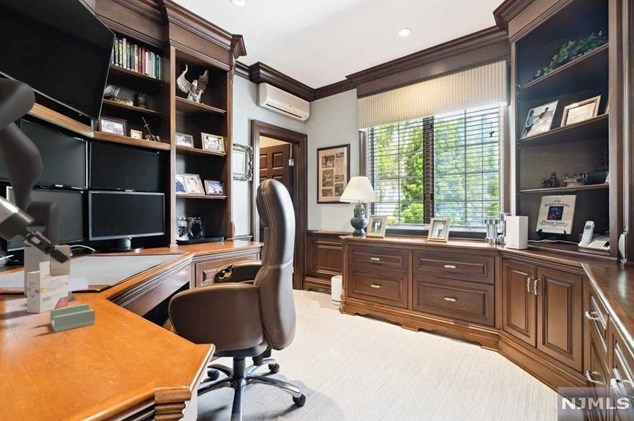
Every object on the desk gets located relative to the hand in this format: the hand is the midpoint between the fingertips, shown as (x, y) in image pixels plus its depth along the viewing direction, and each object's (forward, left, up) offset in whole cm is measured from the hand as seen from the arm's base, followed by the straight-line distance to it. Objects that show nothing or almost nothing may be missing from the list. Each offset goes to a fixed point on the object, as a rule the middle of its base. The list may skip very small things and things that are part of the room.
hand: (64, 259), depth 88 cm
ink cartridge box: (-11, -2, -16) cm, 20 cm away
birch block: (0, -1, -4) cm, 4 cm away
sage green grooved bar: (+10, +1, -16) cm, 19 cm away
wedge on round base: (-21, +2, -16) cm, 26 cm away
